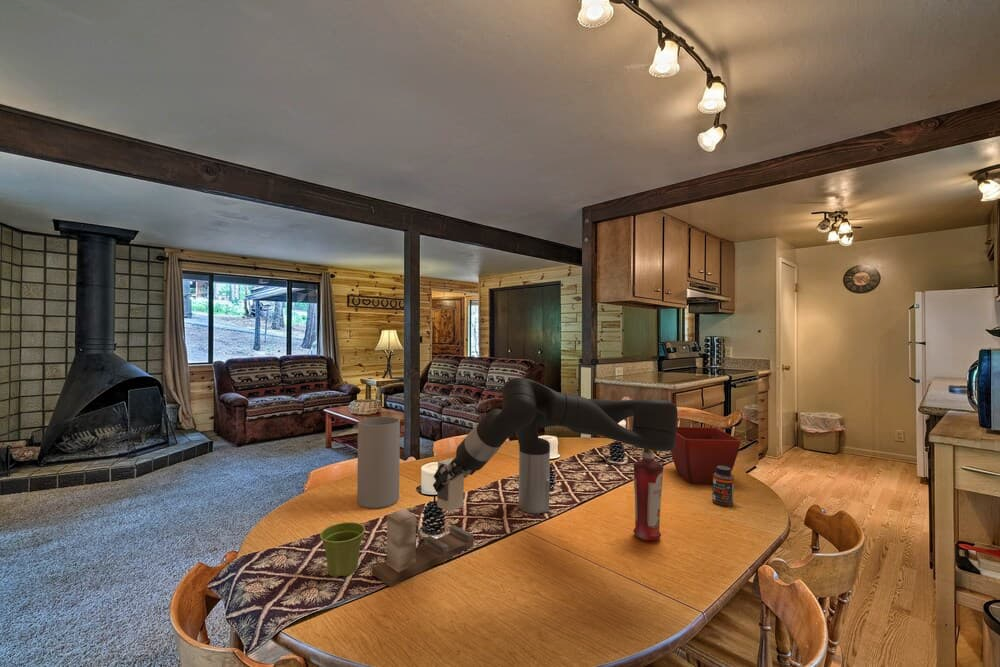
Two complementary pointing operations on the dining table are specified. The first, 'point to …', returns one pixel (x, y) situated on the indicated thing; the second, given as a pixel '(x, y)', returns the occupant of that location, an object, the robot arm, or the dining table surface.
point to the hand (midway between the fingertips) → (444, 485)
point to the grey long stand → (413, 560)
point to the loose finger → (451, 491)
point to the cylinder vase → (378, 462)
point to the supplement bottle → (723, 486)
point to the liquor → (647, 497)
